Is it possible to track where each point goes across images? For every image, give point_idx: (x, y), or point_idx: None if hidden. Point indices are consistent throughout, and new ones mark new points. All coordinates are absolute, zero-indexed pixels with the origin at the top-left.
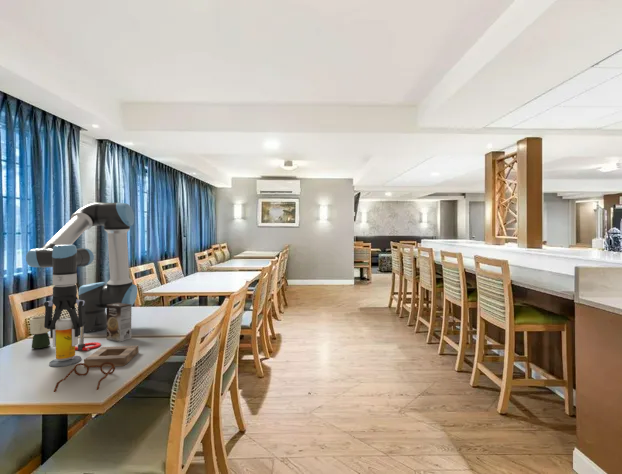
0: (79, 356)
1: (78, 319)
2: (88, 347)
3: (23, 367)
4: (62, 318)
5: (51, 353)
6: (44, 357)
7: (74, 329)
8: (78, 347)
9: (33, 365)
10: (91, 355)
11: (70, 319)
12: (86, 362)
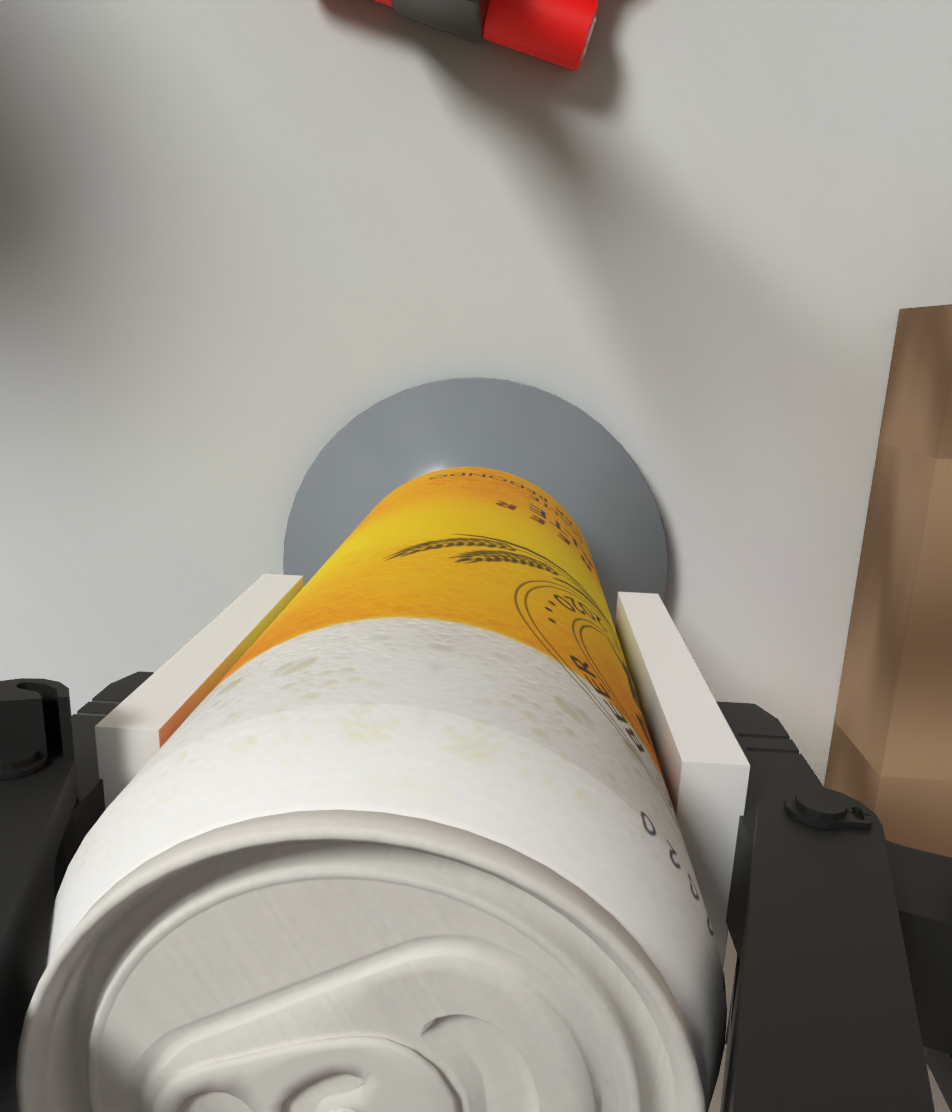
0: (602, 438)
1: (910, 1015)
2: (591, 21)
3: (42, 677)
4: (96, 921)
5: (30, 116)
6: (50, 313)
7: (723, 936)
8: (404, 4)
9: (119, 628)
10: (913, 743)
11: (584, 1107)
12: None
